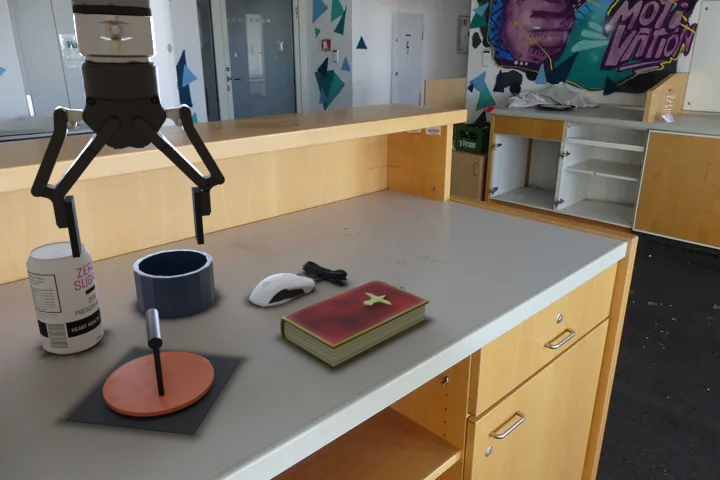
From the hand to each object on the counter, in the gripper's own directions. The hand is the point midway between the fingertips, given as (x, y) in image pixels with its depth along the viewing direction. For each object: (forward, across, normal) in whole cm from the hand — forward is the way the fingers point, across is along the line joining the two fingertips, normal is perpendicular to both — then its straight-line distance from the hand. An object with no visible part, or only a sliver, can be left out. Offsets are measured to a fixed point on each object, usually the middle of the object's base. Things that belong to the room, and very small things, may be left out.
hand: (140, 247), depth 65 cm
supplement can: (+20, -11, +16) cm, 28 cm away
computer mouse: (+20, +25, +22) cm, 39 cm away
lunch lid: (+19, 0, -1) cm, 19 cm away
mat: (+20, 0, -1) cm, 20 cm away
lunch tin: (+20, +5, +25) cm, 32 cm away
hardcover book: (+20, +30, +5) cm, 36 cm away
